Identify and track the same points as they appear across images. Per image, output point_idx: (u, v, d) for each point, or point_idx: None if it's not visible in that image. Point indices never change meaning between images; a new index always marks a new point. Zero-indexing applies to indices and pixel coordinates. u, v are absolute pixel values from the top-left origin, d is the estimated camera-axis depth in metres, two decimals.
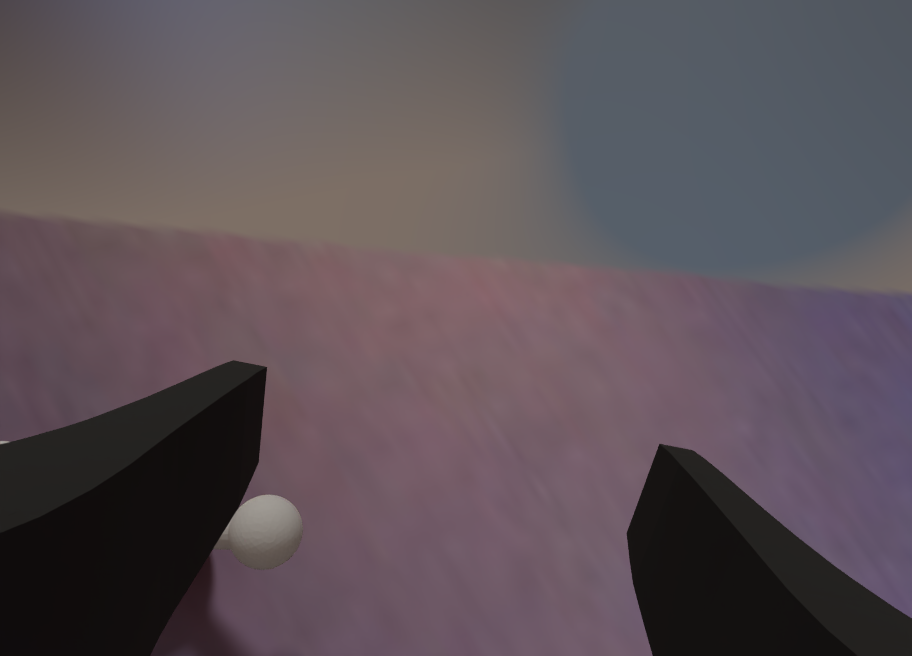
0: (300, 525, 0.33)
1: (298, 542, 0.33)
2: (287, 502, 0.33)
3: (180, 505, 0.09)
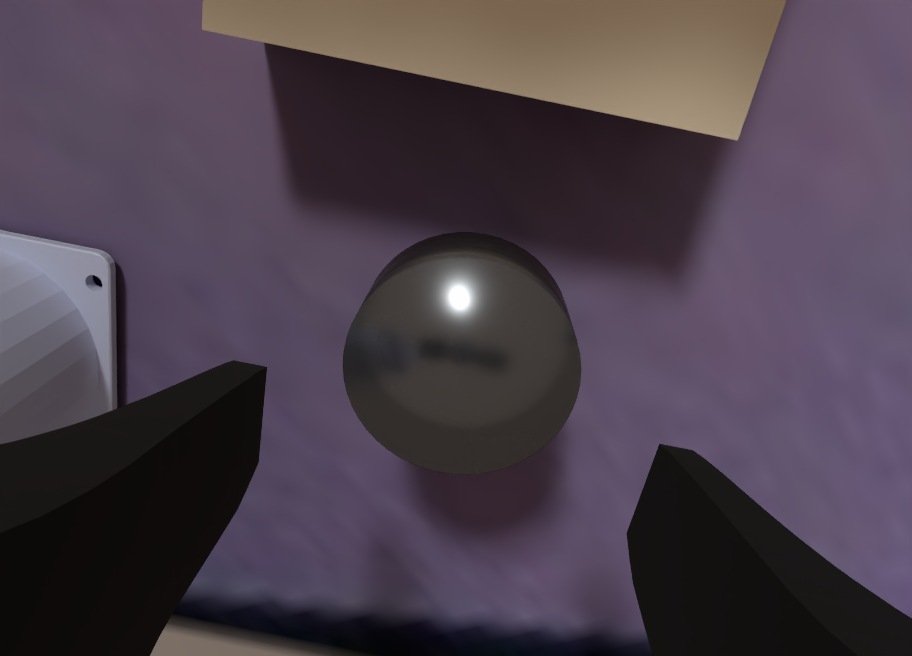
0: None
1: None
2: None
3: (180, 505, 0.09)
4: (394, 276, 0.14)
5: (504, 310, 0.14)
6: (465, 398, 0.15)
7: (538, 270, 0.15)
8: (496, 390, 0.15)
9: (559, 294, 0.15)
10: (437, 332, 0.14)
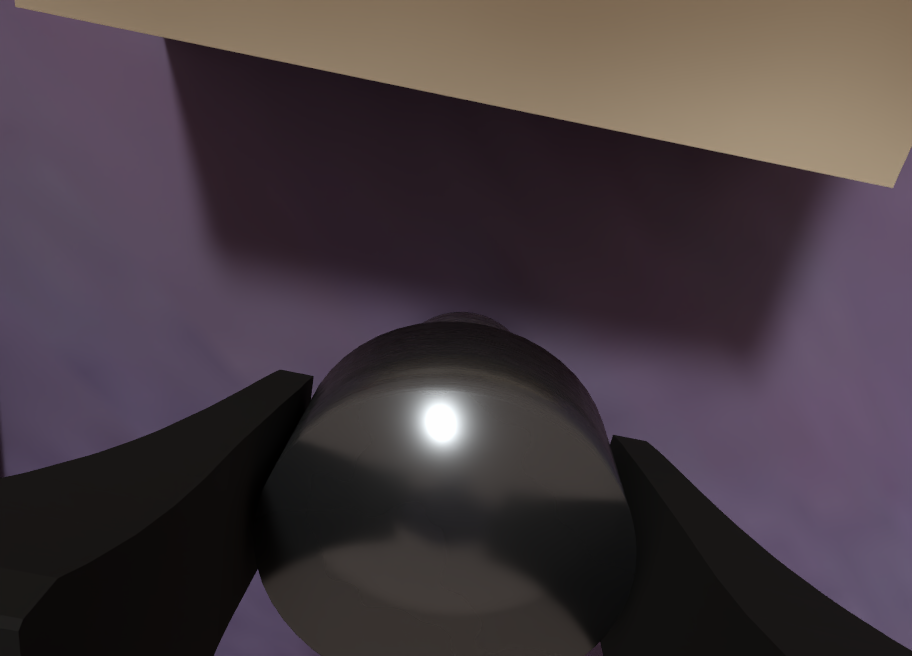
0: None
1: None
2: None
3: (240, 516, 0.09)
4: (331, 415, 0.08)
5: (513, 470, 0.09)
6: (451, 595, 0.09)
7: (566, 389, 0.10)
8: (499, 585, 0.09)
9: (598, 423, 0.10)
10: (403, 500, 0.09)
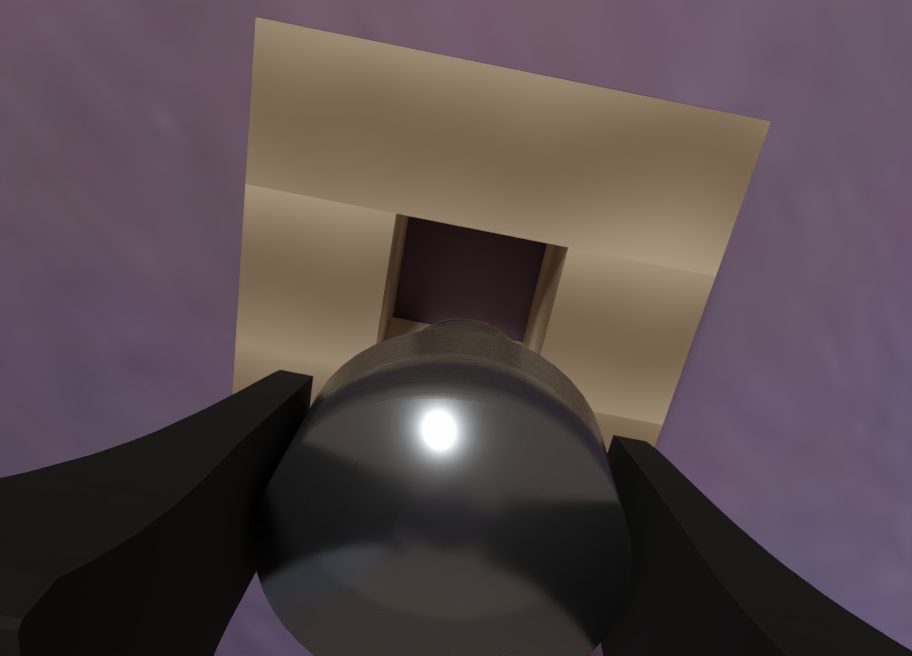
0: None
1: None
2: None
3: (240, 516, 0.09)
4: (326, 424, 0.09)
5: (507, 476, 0.09)
6: (449, 601, 0.09)
7: (560, 395, 0.10)
8: (496, 589, 0.09)
9: (593, 428, 0.10)
10: (399, 507, 0.09)
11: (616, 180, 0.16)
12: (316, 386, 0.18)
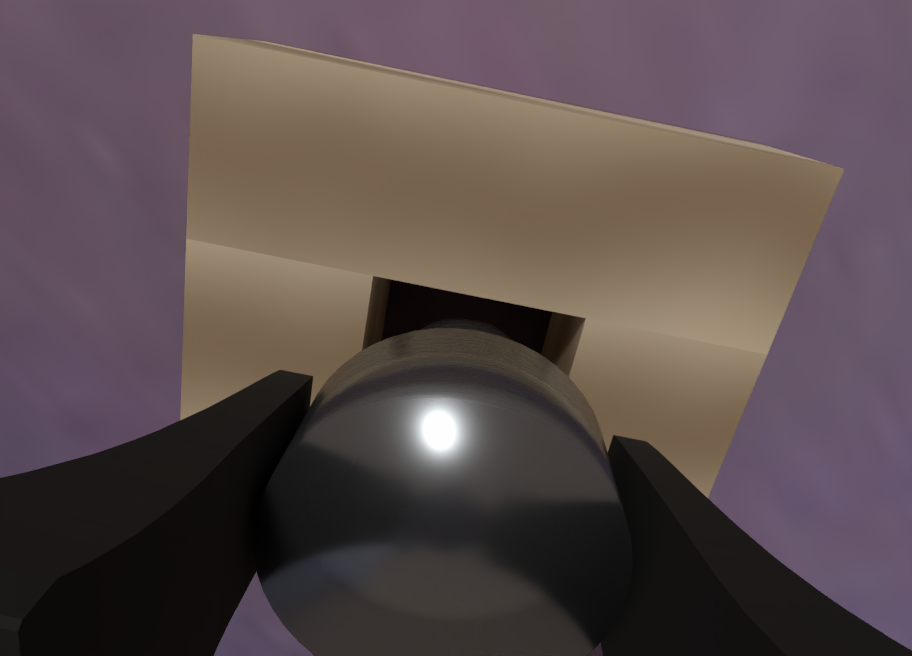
0: None
1: None
2: None
3: (240, 516, 0.09)
4: (326, 423, 0.09)
5: (507, 475, 0.09)
6: (449, 601, 0.09)
7: (560, 393, 0.10)
8: (497, 588, 0.09)
9: (593, 427, 0.10)
10: (399, 507, 0.09)
11: (647, 238, 0.12)
12: None
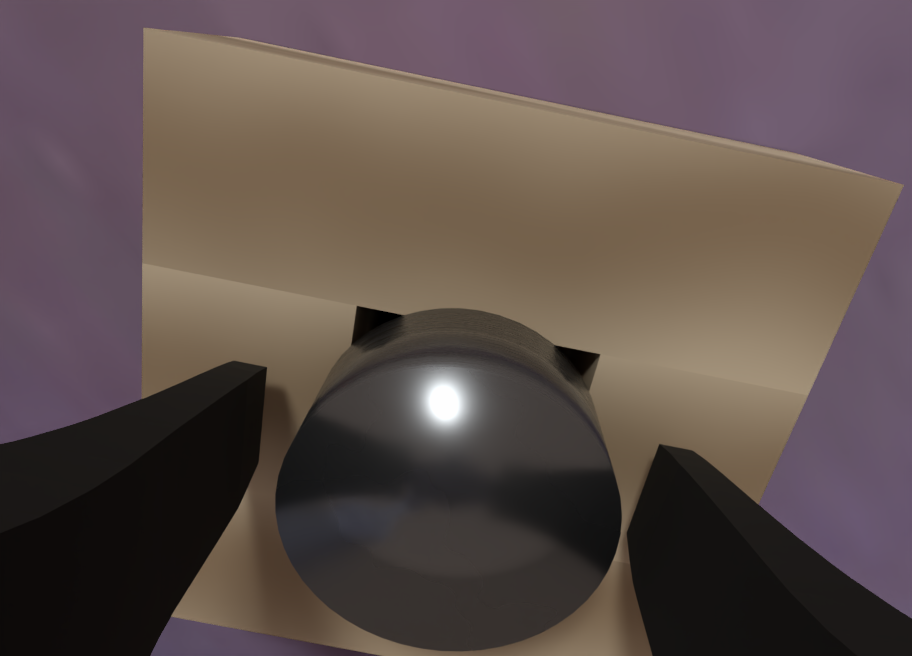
0: None
1: None
2: None
3: (180, 505, 0.09)
4: (343, 391, 0.09)
5: (507, 438, 0.09)
6: (454, 555, 0.10)
7: (555, 366, 0.10)
8: (498, 544, 0.10)
9: (586, 397, 0.11)
10: (410, 468, 0.10)
11: (672, 264, 0.11)
12: (253, 525, 0.13)
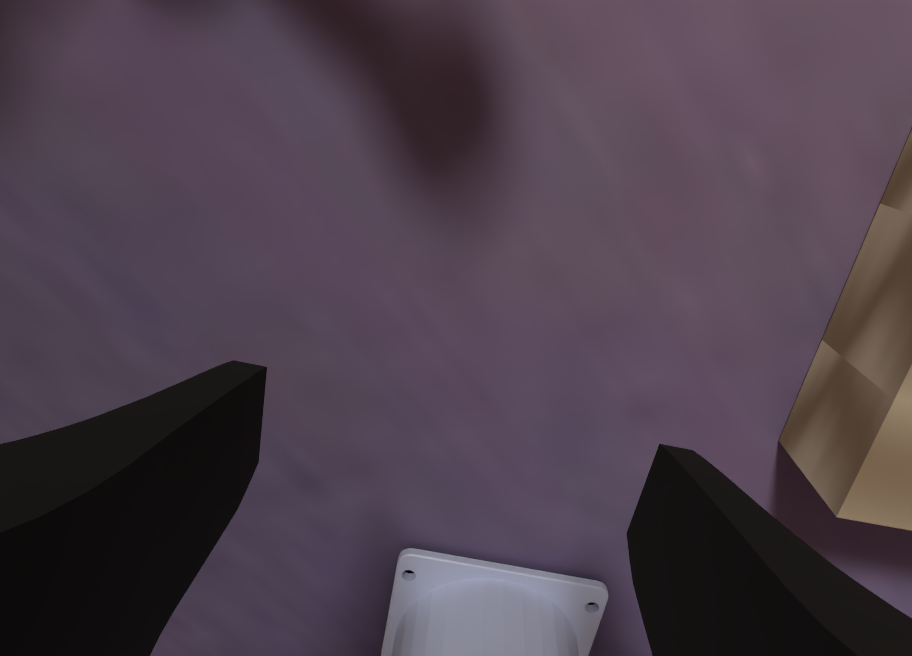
0: None
1: None
2: None
3: (180, 505, 0.09)
4: None
5: None
6: None
7: None
8: None
9: None
10: None
11: None
12: None
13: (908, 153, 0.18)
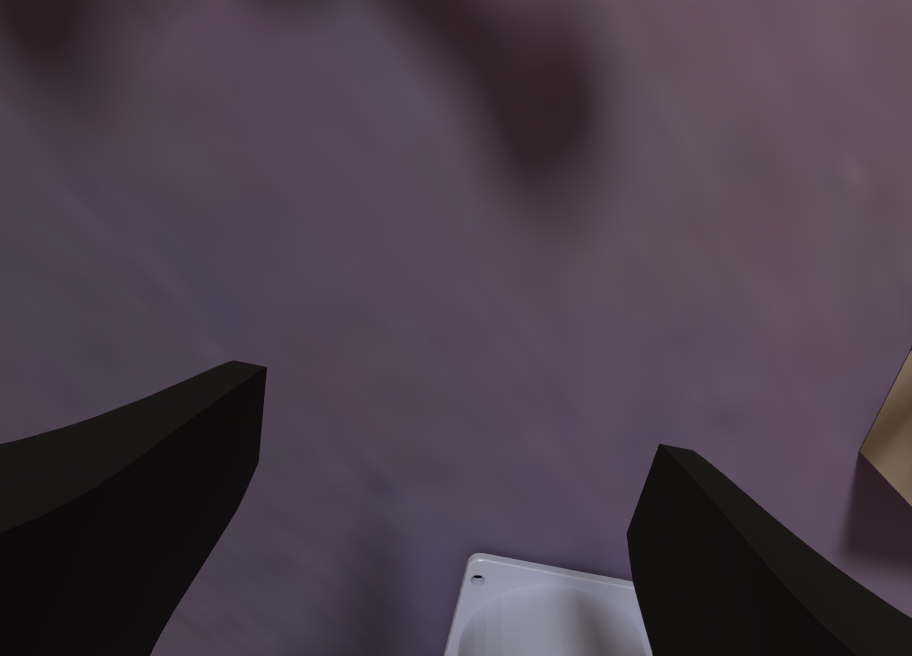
0: None
1: None
2: None
3: (180, 505, 0.09)
4: None
5: None
6: None
7: None
8: None
9: None
10: None
11: None
12: None
13: None
